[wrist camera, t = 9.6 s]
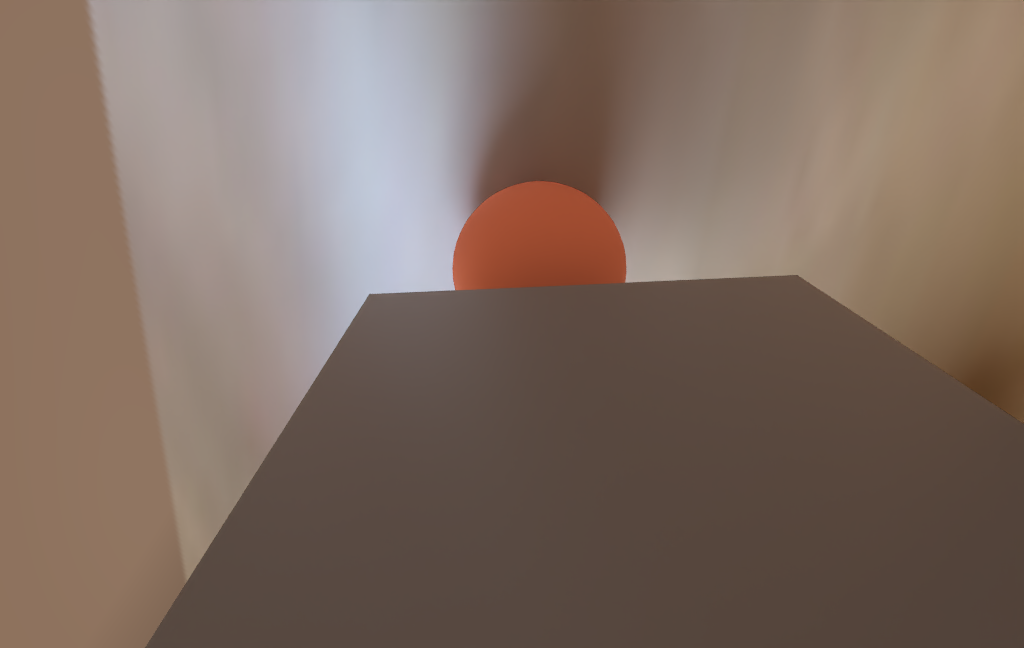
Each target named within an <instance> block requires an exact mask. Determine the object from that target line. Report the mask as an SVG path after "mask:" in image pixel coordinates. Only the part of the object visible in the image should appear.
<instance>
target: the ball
mask: <svg viewBox="0 0 1024 648" xmlns="http://www.w3.org/2000/svg"><path fill="white" fill-rule="evenodd" d="M625 279H626V256H625V250H624V245H623V243H622V240H621V237H620V234H619V232H618V230H617V228H616V226H615V224H614V222H613V221H612V219H611V218H610V216H609V215H608V214H607V213H606V211H605V210H604V209H603V208H602V207H601V206H600V205H599V204H598V203H597V202H596V201H595V200H593V199H592V198H591V197H589V196H588V195H586V194H585V193H583V192H581V191H579V190H577V189H575V188H572V187H570V186H567V185H564V184H560V183H556V182H548V181H532V182H525V183H520V184H516V185H513V186H510V187H507V188H505V189H503V190H501V191H499V192H497V193H495V194H494V195H492V196H490V197H489V198H488V199H486V200H485V201H484V202H483V203H482V204H481V205H480V206H479V207H478V208H477V209H476V210H475V211H474V212H473V213H472V214H471V216H470V217H469V218H468V220H467V221H466V223H465V225H464V227H463V228H462V230H461V233H460V235H459V238H458V240H457V243H456V247H455V251H454V258H453V280H454V285H455V290H476V289H498V288H521V287H543V286H565V285H588V284H610V283H625Z"/></svg>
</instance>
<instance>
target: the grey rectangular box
mask: <svg viewBox="0 0 1024 648" xmlns="http://www.w3.org/2000/svg"><path fill="white" fill-rule="evenodd" d="M145 648H1024V424H1023V423H1021V422H1020V421H1018V420H1017V419H1015V418H1014V417H1012V416H1011V415H1009V414H1008V413H1006V412H1005V411H1003V410H1002V409H1000V408H999V407H997V406H996V405H994V404H992V403H991V402H989V401H988V400H986V399H985V398H983V397H982V396H980V395H979V394H977V393H976V392H974V391H973V390H971V389H970V388H968V387H967V386H965V385H964V384H962V383H961V382H959V381H957V380H956V379H954V378H953V377H951V376H950V375H948V374H947V373H945V372H944V371H942V370H941V369H939V368H938V367H936V366H935V365H933V364H932V363H930V362H929V361H927V360H925V359H924V358H922V357H921V356H919V355H918V354H916V353H915V352H913V351H912V350H910V349H909V348H907V347H906V346H904V345H903V344H901V343H900V342H898V341H897V340H895V339H894V338H892V337H890V336H889V335H887V334H886V333H884V332H883V331H881V330H880V329H878V328H877V327H875V326H874V325H872V324H871V323H869V322H868V321H866V320H865V319H863V318H862V317H860V316H859V315H857V314H855V313H854V312H852V311H851V310H849V309H848V308H846V307H845V306H843V305H842V304H840V303H839V302H837V301H836V300H834V299H833V298H831V297H830V296H828V295H827V294H825V293H824V292H822V291H820V290H819V289H817V288H816V287H814V286H813V285H811V284H810V283H808V282H807V281H805V280H804V279H802V278H801V277H799V276H798V275H789V276H766V277H744V278H722V279H699V280H677V281H655V282H632V283H610V284H588V285H565V286H543V287H521V288H498V289H476V290H454V291H431V292H409V293H387V294H369V296H368V297H367V299H366V300H365V302H364V304H363V305H362V307H361V308H360V310H359V312H358V313H357V315H356V316H355V318H354V319H353V321H352V323H351V324H350V326H349V327H348V329H347V330H346V332H345V334H344V335H343V337H342V338H341V340H340V341H339V343H338V345H337V346H336V348H335V349H334V351H333V353H332V354H331V356H330V357H329V359H328V360H327V362H326V364H325V365H324V367H323V368H322V370H321V371H320V373H319V375H318V376H317V378H316V379H315V381H314V382H313V384H312V386H311V387H310V389H309V390H308V392H307V393H306V395H305V397H304V398H303V400H302V401H301V403H300V405H299V406H298V408H297V409H296V411H295V412H294V414H293V416H292V417H291V419H290V420H289V422H288V423H287V425H286V427H285V428H284V430H283V431H282V433H281V434H280V436H279V438H278V439H277V441H276V442H275V444H274V446H273V447H272V449H271V450H270V452H269V453H268V455H267V457H266V458H265V460H264V461H263V463H262V464H261V466H260V468H259V469H258V471H257V472H256V474H255V475H254V477H253V479H252V480H251V482H250V483H249V485H248V486H247V488H246V490H245V491H244V493H243V494H242V496H241V498H240V499H239V501H238V502H237V504H236V505H235V507H234V509H233V510H232V512H231V513H230V515H229V516H228V518H227V520H226V521H225V523H224V524H223V526H222V527H221V529H220V531H219V532H218V534H217V535H216V537H215V539H214V540H213V542H212V543H211V545H210V546H209V548H208V550H207V551H206V553H205V554H204V556H203V557H202V559H201V561H200V562H199V564H198V565H197V567H196V568H195V570H194V572H193V573H192V575H191V576H190V578H189V580H188V581H187V583H186V584H185V586H184V587H183V589H182V591H181V592H180V594H179V595H178V597H177V599H176V600H175V602H174V603H173V605H172V606H171V608H170V609H169V611H168V613H167V614H166V616H165V617H164V619H163V620H162V622H161V624H160V625H159V627H158V628H157V630H156V632H155V633H154V635H153V636H152V638H151V640H150V641H149V643H148V644H147V646H146V647H145Z"/></svg>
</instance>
